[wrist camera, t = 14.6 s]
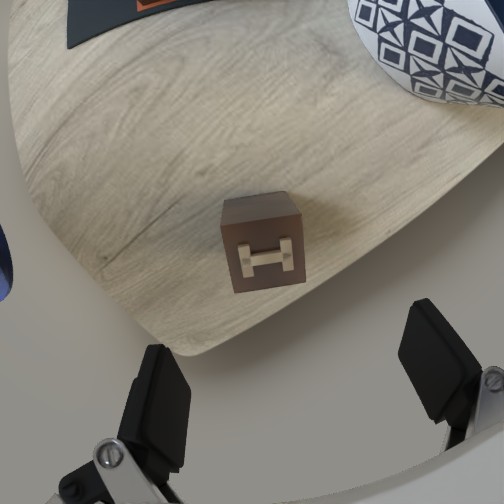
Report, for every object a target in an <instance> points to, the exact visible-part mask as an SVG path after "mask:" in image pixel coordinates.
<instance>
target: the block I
mask: <svg viewBox="0 0 504 504" xmlns="http://www.w3.org/2000/svg"><path fill="white" fill-rule="evenodd" d="M220 228H221V233H222V238H223V243H224V248H225V252H226V257H227V262H228V266H229V271H230V276H231V280H232V285H233V289H234V293H242V292H249V291H255V290H262V289H268V288H274V287H280V286H286V285H292V284H298V283H304V282H306V273H305V255H304V240H303V226H302V214H301V213H300V211H299V210H298V209H297V207H296V206H295V204H294V203H293V202H292V200H291V199H290V198H289V196H288V195H287V194H286V192H285V191H281V192H274V193H267V194H260V195H254V196H247V197H241V198H235V199H229V200H224V204H223V211H222V218H221V225H220Z"/></svg>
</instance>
